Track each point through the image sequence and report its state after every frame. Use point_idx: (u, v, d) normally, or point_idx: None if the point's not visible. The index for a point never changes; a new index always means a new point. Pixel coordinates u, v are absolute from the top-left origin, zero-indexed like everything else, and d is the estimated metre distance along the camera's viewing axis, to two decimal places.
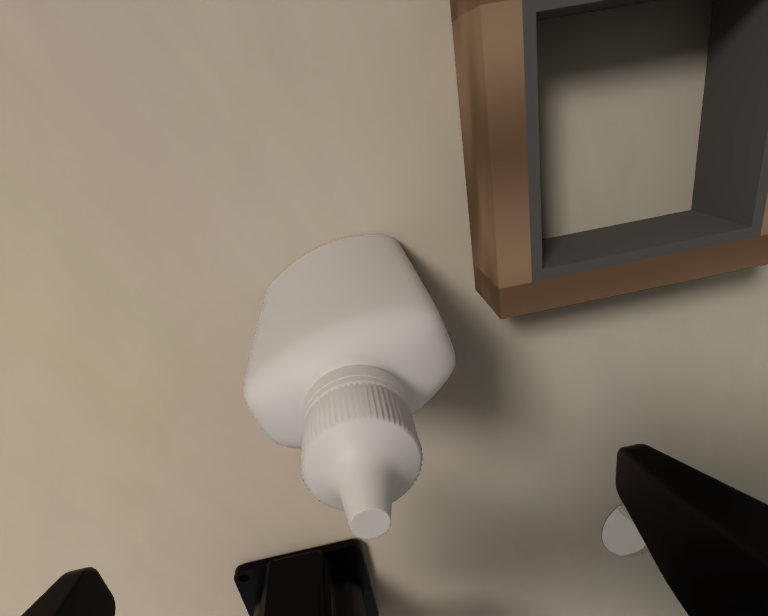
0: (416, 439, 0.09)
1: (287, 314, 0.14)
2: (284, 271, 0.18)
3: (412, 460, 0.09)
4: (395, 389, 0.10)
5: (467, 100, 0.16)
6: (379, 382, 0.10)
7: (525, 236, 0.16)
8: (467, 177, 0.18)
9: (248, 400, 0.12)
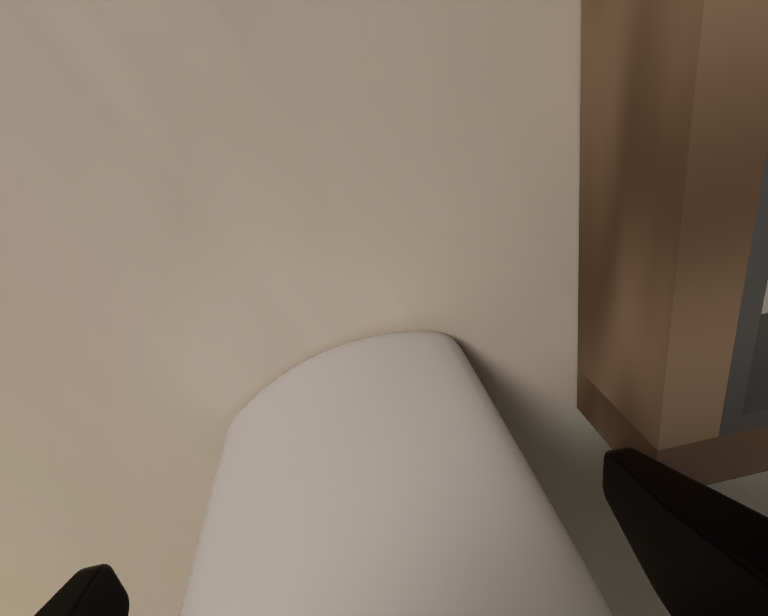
0: None
1: (244, 600, 0.06)
2: (258, 398, 0.10)
3: None
4: None
5: (610, 94, 0.08)
6: None
7: (722, 361, 0.08)
8: (584, 233, 0.10)
9: None
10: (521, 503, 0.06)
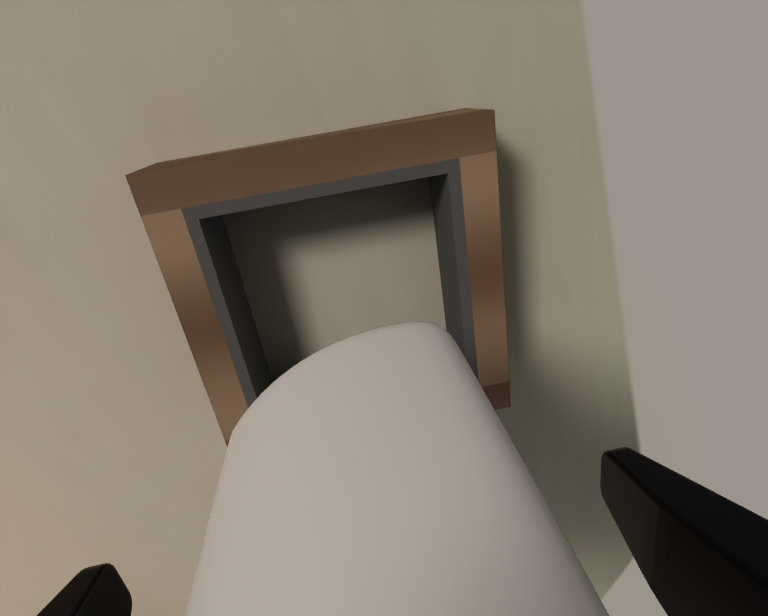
0: None
1: (232, 611, 0.06)
2: (254, 405, 0.10)
3: None
4: None
5: None
6: None
7: (239, 397, 0.17)
8: None
9: None
10: (502, 492, 0.06)
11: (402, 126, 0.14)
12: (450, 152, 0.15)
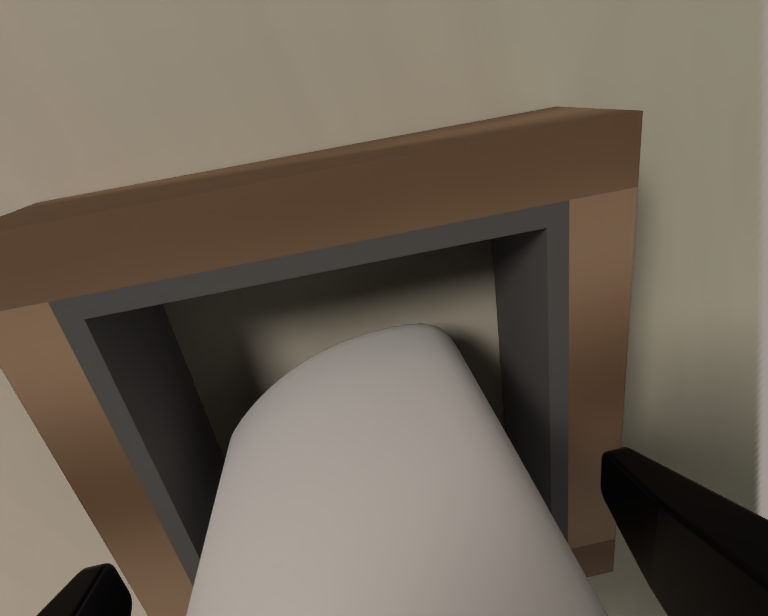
0: None
1: (233, 613, 0.06)
2: (254, 408, 0.10)
3: None
4: None
5: None
6: None
7: (184, 585, 0.10)
8: None
9: None
10: (502, 494, 0.06)
11: (467, 143, 0.07)
12: (554, 190, 0.08)
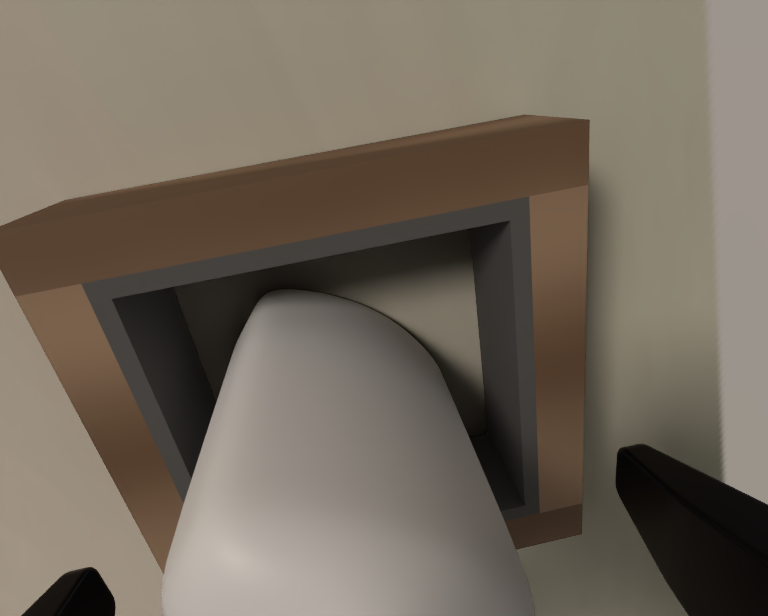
0: None
1: (339, 412, 0.08)
2: (313, 295, 0.12)
3: None
4: None
5: None
6: None
7: None
8: None
9: (212, 541, 0.06)
10: (490, 489, 0.09)
11: (440, 148, 0.09)
12: (515, 188, 0.09)
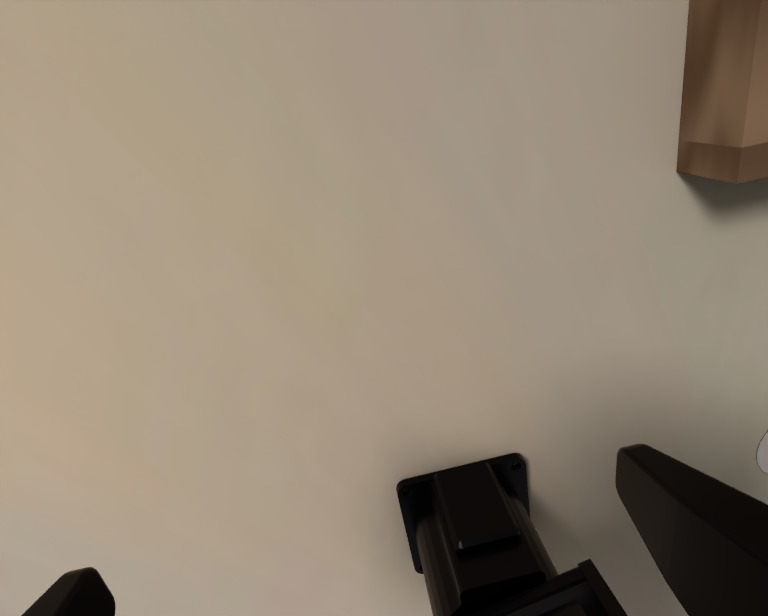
0: None
1: None
2: None
3: None
4: None
5: None
6: None
7: None
8: (691, 38, 0.17)
9: None
10: None
11: None
12: None
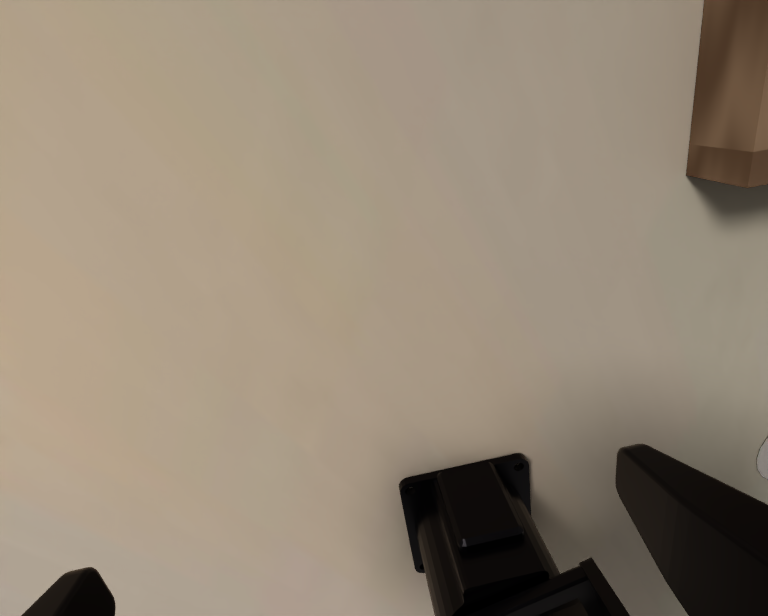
0: None
1: None
2: None
3: None
4: None
5: None
6: None
7: None
8: (704, 43, 0.17)
9: None
10: None
11: None
12: None
